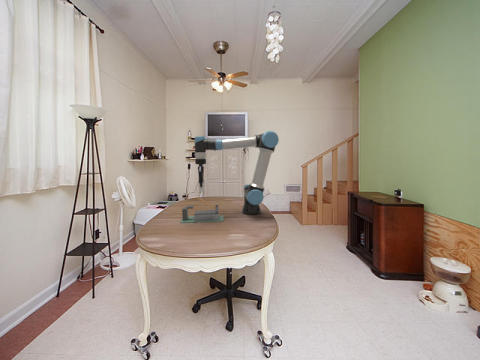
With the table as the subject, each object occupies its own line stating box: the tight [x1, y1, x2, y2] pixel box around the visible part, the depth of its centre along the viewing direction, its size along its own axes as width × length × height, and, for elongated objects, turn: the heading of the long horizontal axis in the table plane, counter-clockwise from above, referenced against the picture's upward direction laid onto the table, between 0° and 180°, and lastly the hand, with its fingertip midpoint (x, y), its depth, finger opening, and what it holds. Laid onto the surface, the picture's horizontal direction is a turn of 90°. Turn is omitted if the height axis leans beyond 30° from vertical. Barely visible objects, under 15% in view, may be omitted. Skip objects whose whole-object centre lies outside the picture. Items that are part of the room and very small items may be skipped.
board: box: [179, 214, 224, 224], centre depth 153 cm, size 30×13×1 cm, turn 95°
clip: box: [181, 205, 195, 220], centre depth 151 cm, size 7×6×9 cm
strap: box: [197, 196, 216, 210], centre depth 152 cm, size 17×4×1 cm
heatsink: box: [193, 204, 220, 221], centre depth 153 cm, size 17×11×9 cm, turn 95°
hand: (201, 191), depth 150 cm, fingers closed
